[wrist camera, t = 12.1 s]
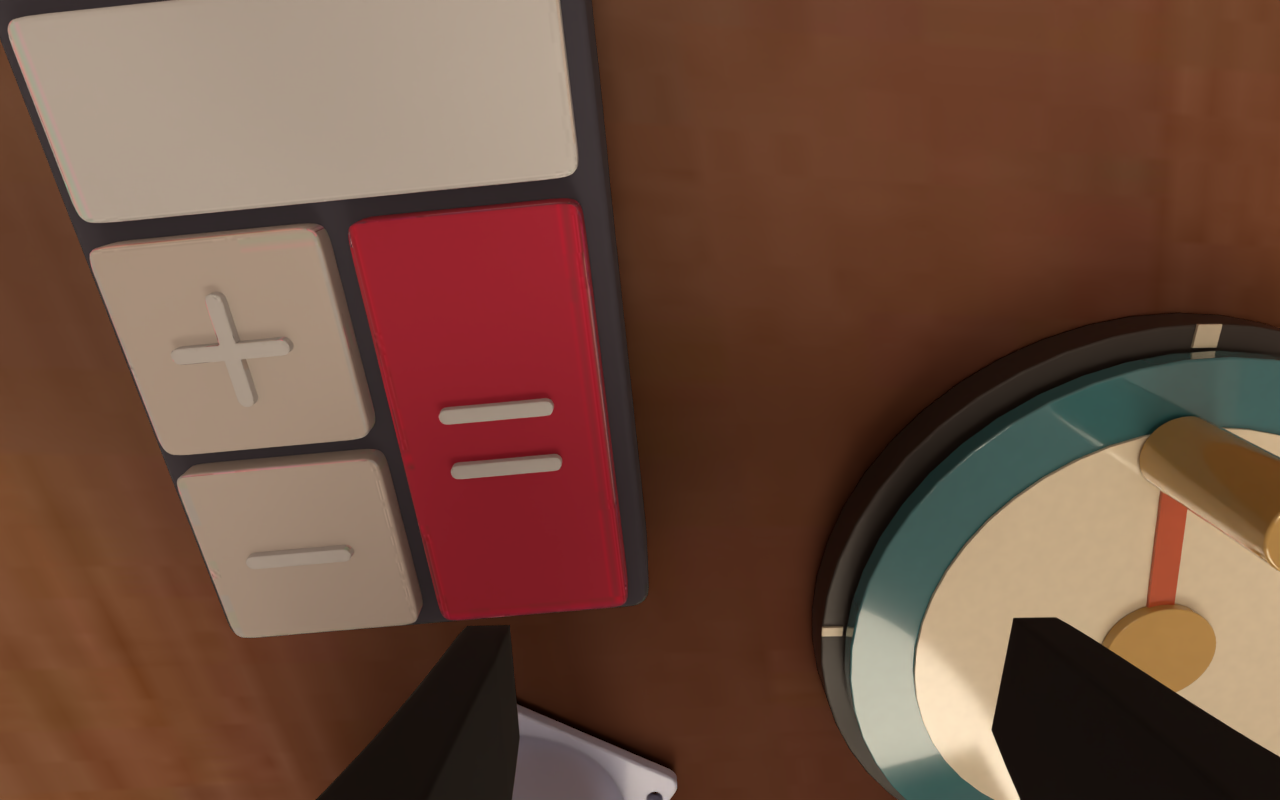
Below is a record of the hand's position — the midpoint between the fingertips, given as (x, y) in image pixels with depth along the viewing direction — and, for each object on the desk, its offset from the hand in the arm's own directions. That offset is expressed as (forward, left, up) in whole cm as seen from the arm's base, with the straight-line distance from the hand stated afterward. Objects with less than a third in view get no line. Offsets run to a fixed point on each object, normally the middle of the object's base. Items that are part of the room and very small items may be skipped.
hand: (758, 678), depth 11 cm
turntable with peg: (+1, -14, -9) cm, 17 cm away
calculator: (-1, +8, -11) cm, 13 cm away
